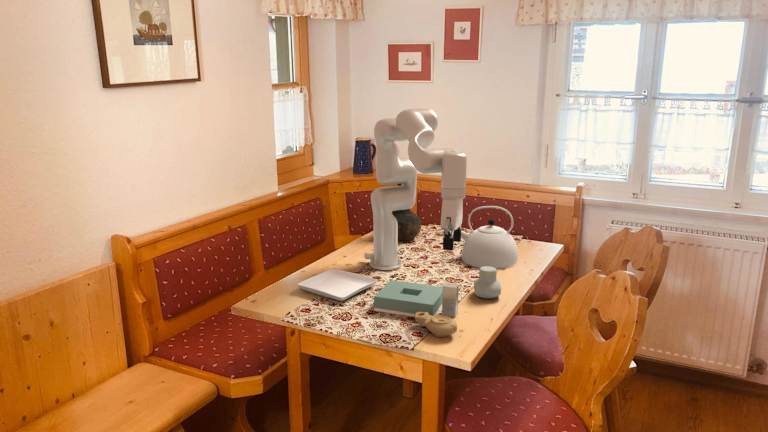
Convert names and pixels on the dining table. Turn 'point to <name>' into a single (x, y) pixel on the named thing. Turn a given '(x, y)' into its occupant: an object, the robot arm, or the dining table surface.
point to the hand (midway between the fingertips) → (452, 245)
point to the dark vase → (407, 223)
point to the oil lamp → (437, 324)
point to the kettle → (489, 245)
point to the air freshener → (487, 283)
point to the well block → (408, 298)
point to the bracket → (450, 299)
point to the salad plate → (337, 284)
